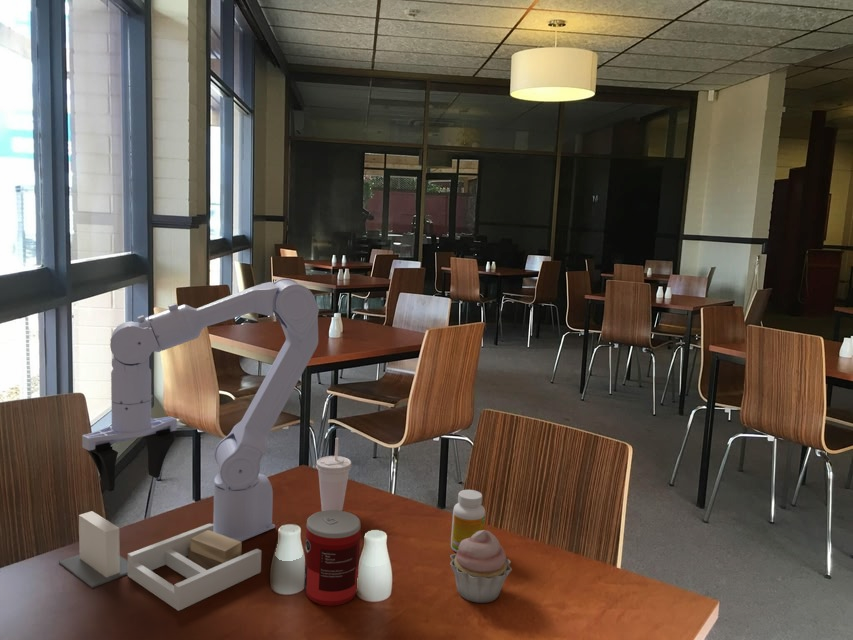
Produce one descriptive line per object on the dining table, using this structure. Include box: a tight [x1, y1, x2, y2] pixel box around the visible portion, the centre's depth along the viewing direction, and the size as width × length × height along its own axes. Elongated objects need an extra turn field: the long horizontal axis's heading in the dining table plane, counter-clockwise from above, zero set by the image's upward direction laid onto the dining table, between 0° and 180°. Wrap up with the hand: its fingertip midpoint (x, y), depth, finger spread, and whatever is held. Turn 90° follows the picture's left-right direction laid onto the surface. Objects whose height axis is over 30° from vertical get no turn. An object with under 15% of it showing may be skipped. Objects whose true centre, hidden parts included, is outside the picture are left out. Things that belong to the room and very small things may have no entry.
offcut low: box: [187, 546, 240, 570], centre depth 105 cm, size 4×9×2 cm, turn 54°
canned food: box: [303, 510, 362, 607], centre depth 99 cm, size 8×8×11 cm
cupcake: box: [449, 529, 513, 604], centre depth 101 cm, size 9×9×10 cm
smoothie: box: [315, 437, 352, 511], centre depth 125 cm, size 6×6×14 cm
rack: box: [127, 522, 262, 612], centre depth 102 cm, size 14×13×4 cm
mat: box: [58, 553, 128, 589], centre depth 102 cm, size 7×10×1 cm
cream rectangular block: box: [78, 510, 121, 578], centre depth 102 cm, size 2×8×7 cm, turn 52°
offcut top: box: [191, 530, 243, 563], centre depth 104 cm, size 4×7×2 cm, turn 62°
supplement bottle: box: [450, 489, 486, 554], centre depth 114 cm, size 5×5×10 cm
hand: (132, 482), depth 108 cm, fingers open, 7 cm apart
